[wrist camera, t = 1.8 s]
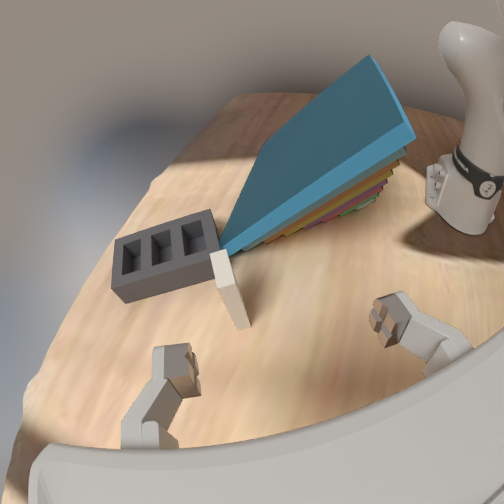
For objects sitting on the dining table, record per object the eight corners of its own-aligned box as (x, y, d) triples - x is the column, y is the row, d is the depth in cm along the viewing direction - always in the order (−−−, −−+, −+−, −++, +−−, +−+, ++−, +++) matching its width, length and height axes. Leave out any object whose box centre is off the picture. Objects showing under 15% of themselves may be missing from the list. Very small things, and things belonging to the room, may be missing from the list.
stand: (126, 256, 51) (115, 239, 47) (216, 228, 52) (210, 208, 48) (125, 303, 44) (111, 288, 40) (228, 274, 45) (221, 255, 41)
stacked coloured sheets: (289, 300, 53) (469, 229, 27) (214, 252, 46) (404, 121, 21) (312, 185, 73) (419, 115, 47) (263, 144, 66) (368, 54, 41)
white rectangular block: (230, 302, 42) (209, 253, 33) (242, 298, 42) (226, 248, 33) (237, 331, 39) (217, 288, 29) (251, 327, 39) (235, 283, 30)
